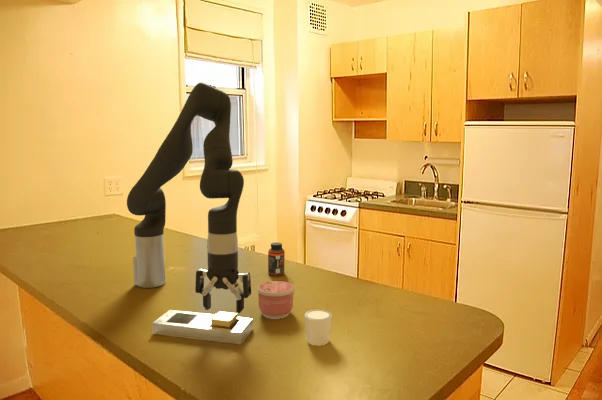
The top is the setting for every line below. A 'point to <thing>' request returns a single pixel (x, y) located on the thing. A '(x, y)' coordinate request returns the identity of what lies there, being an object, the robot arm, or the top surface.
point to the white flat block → (200, 327)
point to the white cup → (318, 326)
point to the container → (275, 299)
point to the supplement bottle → (276, 259)
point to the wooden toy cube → (224, 320)
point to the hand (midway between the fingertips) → (223, 310)
